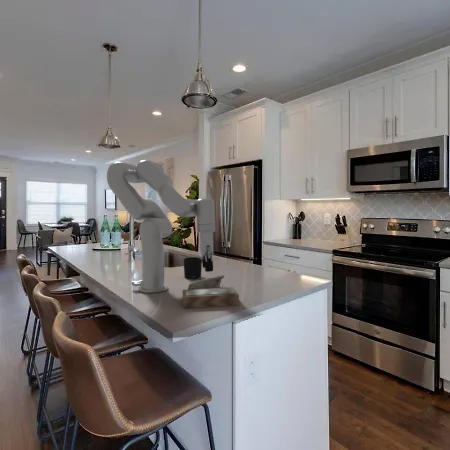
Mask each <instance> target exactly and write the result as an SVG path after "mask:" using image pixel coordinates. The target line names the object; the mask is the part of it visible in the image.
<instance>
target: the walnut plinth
mask: <svg viewBox="0 0 450 450" xmlns="http://www.w3.org/2000/svg"><path fill="white" fill-rule="evenodd" d="M182 304H183V309H196V308H197V309H198V308H216V307H217V308H218V307H231V306H232V307H234V306H239V305H240V294H239V293H238V292H237V290H236V289H235V288H234V287H223V288H222V287H221V288H208V289H188V288H187V289H182Z"/></svg>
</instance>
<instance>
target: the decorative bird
mask: <svg viewBox="0 0 450 450" xmlns="http://www.w3.org/2000/svg"><path fill="white" fill-rule="evenodd" d="M224 278H225V274H223V275H217V276H214V277H209V278H202V279H200V280H199V279H198V280H194V281H191V282H190V283H189V285H188V287H187V289H208V288H224V285H222V286H221V283H222V280H223V279H224Z"/></svg>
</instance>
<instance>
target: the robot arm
mask: <svg viewBox="0 0 450 450" xmlns="http://www.w3.org/2000/svg"><path fill="white" fill-rule="evenodd" d="M106 181H107V185H108V187H109V189H110V190H111V191H112V193H113V194H114V196H116V198H117V199H118V200H119V202H120V203H121V205H122V206H123V208H124V209H125V210H126V212H127V214H129V216H130V217H131V218H132V219H133V220H135V221H142V222H141V223H140V225H139V231H138V233H139V238H140V244H141V271H142V272H141V279H140V280H131V286H134V287H138V291H139V292H141V293H149V294H150V293H151V294H155V293H161V292H165V291H167V290H168V289H169V285H167V284H165V248H164V242H163V239H165V238H167V237H169V236H170V235H171V234H172V232H173V225H172V222H171V220H170V219H169V218H168V217H167V215H166V213H165V212H164V211H163V210H162V209H161V206H159V204H157V203H156V202H155V201H153V200H151V199H144V198H143V197H142V196H141V195H140V194H139V193H138V192H137V190H136V188H135V187H134V186H132V185H131V184H139V183H140V184H141V183H143V184H144V183H145V184H147V185H148V186H149V188H151V189H152V190H153V191H154V192H155V193H157V195H158V197H159V199H160V200H161V202H162V203H163V204H164V205H165V206H166V207H167V208H168V209H169V211H171V212H172V213H173V214H174V215H176V216H178V217H179V218H191V217H192V218H193V217H196V231H197V232H196V233H199V238H198V239H199V255H200V256H201V257H202V258H201V260H202V269H203V268H204V272H207V273H209V272H214V260H213V256H214V234H213V233H214V232H216V218H215V217H216V216H215V215H216V213H215V212H216V210H215V200H214V199H213V198H199V199H193V198H192V199H191V198H185V197H184V196H182V195H181V194H180V193H179V192H178V191H177V190H176V189H175V188H174V186H173V180H172V178H171V177H170V176H168V175H167V174H166V173H165V170H164V168H163V166H162V165H161V164H160V163H158V162H157V161H152V160H148V159H143V160H140V161H139V162H138V163H137V164H132V163H127V162H124V161H116V162H113V163H111V164H110V165H109V167H108V169H107V171H106Z"/></svg>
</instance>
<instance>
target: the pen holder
mask: <svg viewBox="0 0 450 450" xmlns="http://www.w3.org/2000/svg"><path fill="white" fill-rule="evenodd" d="M183 269H184V270H183V273H184V274H183V275H184V278H185V279H187V280H197V279H198V280H199V279H201V278H202V271H203V270H202V269H203V264H202V258H201V257H197V256H196V257H194V256H191V257H185V258H184V259H183Z"/></svg>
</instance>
